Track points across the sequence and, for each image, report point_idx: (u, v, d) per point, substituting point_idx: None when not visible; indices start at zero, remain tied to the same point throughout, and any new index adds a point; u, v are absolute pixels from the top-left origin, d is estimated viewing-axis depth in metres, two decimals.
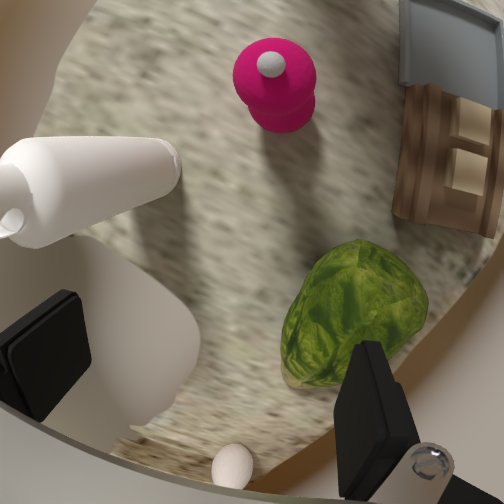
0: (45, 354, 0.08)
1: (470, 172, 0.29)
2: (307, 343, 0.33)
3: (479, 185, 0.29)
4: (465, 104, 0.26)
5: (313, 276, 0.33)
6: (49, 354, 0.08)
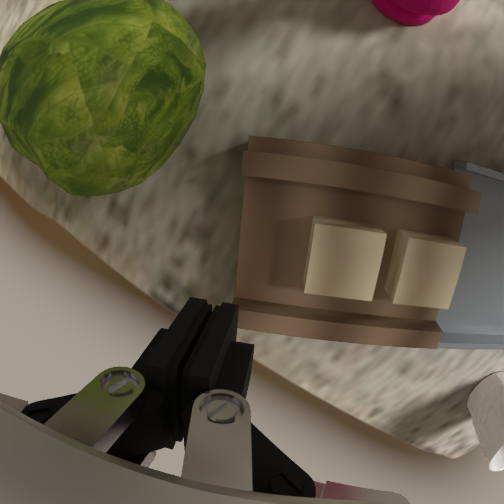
0: None
1: (345, 263, 0.19)
2: (45, 11, 0.13)
3: (323, 285, 0.20)
4: (456, 256, 0.18)
5: None
6: None
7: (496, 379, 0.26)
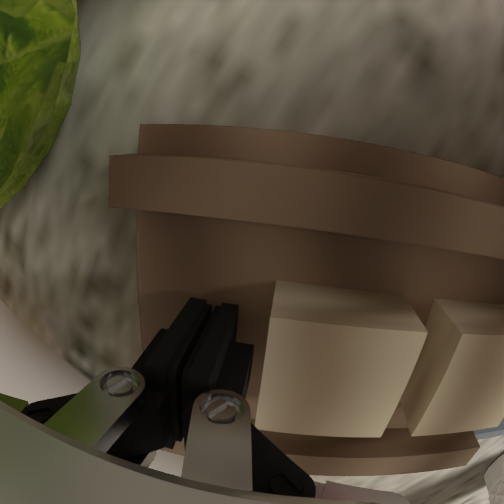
0: None
1: (336, 387, 0.09)
2: None
3: (289, 419, 0.09)
4: None
5: None
6: None
7: None
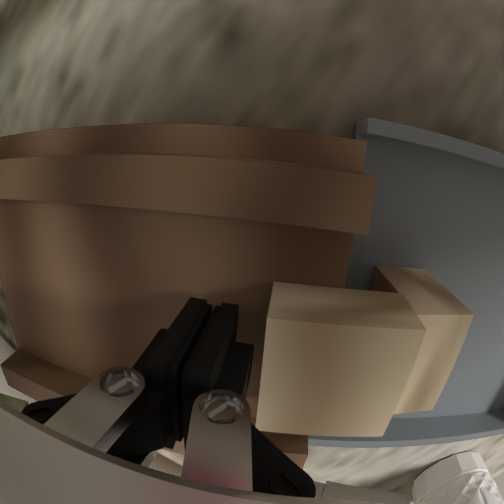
0: None
1: (336, 387, 0.09)
2: None
3: (290, 420, 0.09)
4: None
5: None
6: None
7: (454, 465, 0.16)
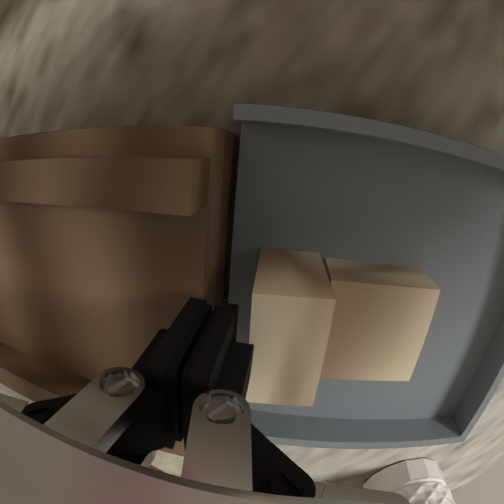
0: None
1: None
2: None
3: None
4: None
5: None
6: None
7: (403, 472, 0.17)
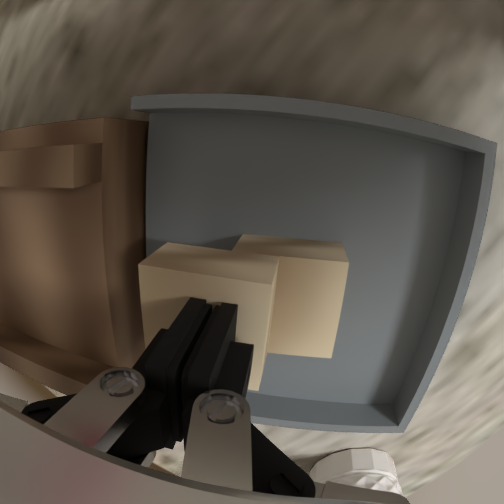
0: None
1: None
2: None
3: None
4: None
5: None
6: None
7: (346, 461, 0.18)
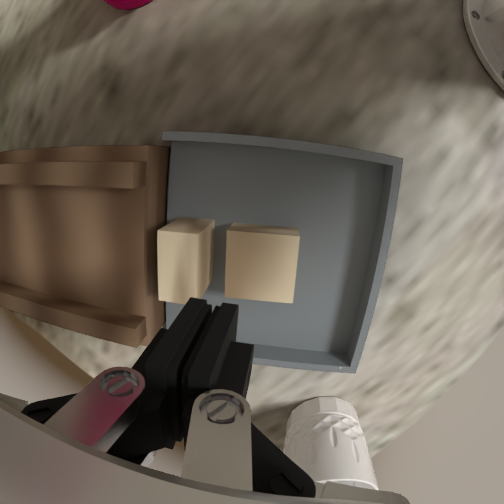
0: None
1: (206, 258, 0.21)
2: None
3: (201, 288, 0.20)
4: None
5: None
6: None
7: (315, 405, 0.26)
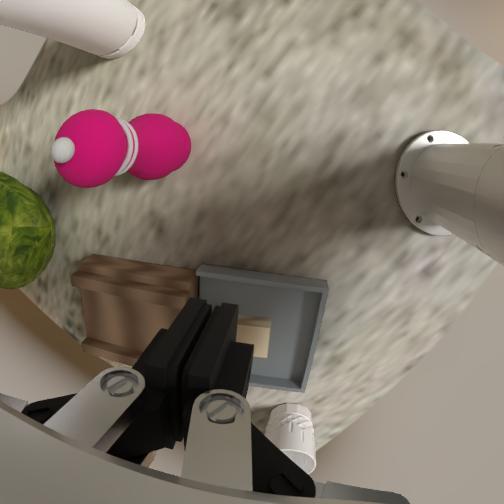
0: None
1: None
2: None
3: None
4: None
5: (14, 191, 0.32)
6: None
7: (284, 408, 0.44)
